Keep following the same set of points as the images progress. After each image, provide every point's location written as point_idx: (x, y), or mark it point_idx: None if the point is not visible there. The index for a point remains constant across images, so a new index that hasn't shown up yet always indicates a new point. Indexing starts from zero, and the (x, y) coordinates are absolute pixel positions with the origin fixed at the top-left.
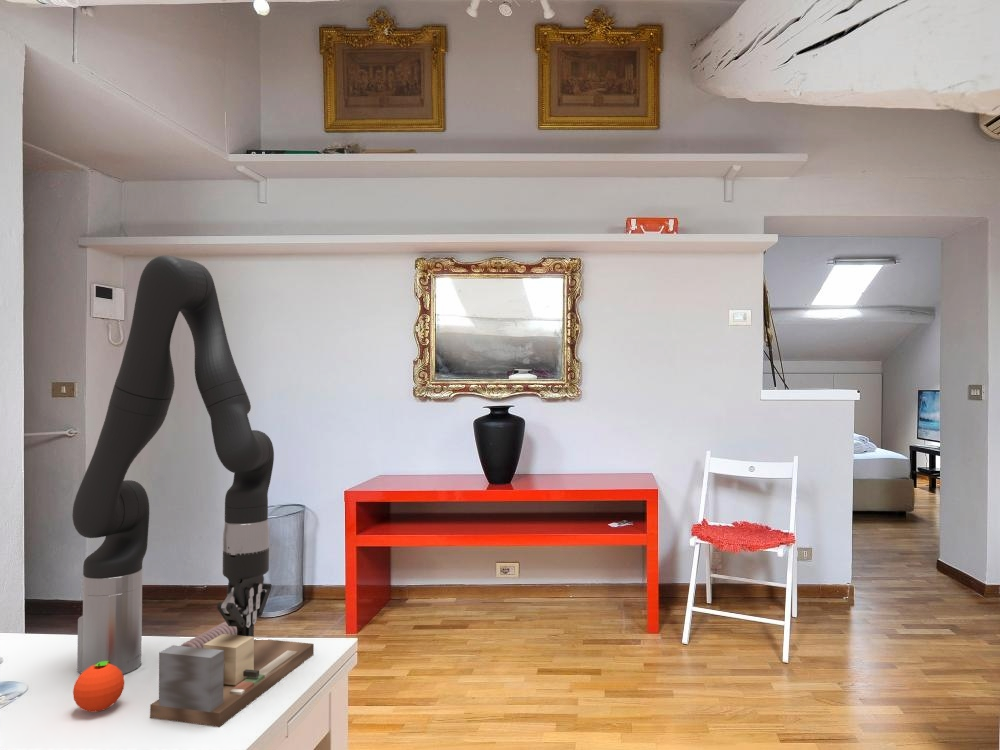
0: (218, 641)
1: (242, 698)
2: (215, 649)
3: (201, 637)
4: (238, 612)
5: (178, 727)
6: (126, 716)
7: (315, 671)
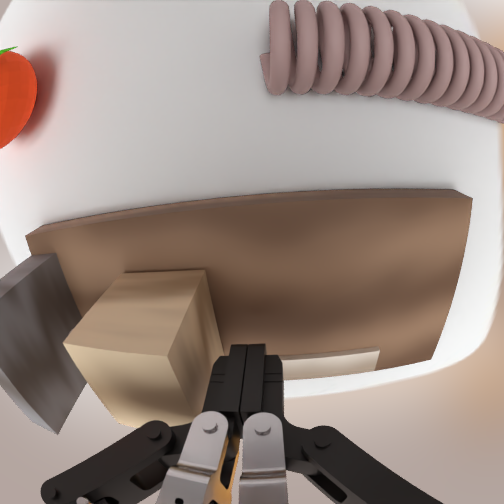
0: (107, 375)
1: None
2: (45, 422)
3: (358, 42)
4: (135, 499)
5: None
6: (28, 176)
7: (336, 386)
